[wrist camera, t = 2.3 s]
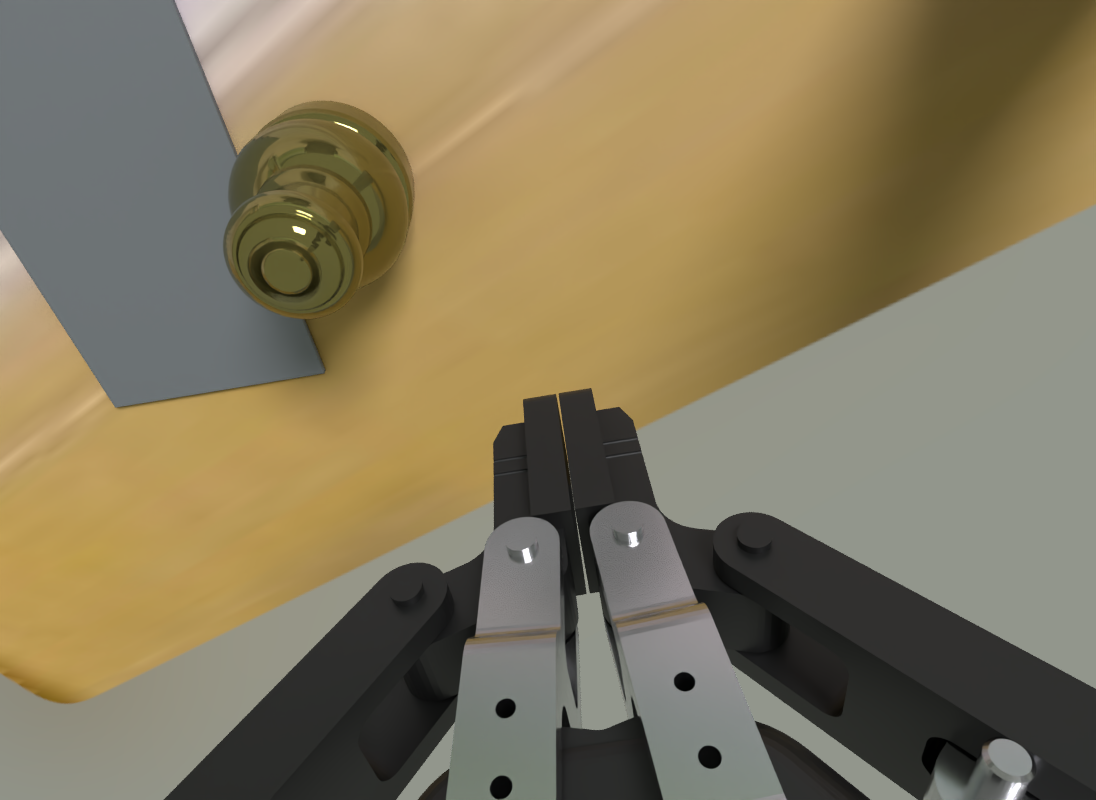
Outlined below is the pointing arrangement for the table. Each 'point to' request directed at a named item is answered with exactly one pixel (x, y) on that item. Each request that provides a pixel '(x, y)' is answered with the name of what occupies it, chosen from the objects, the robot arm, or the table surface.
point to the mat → (130, 201)
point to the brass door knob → (316, 209)
